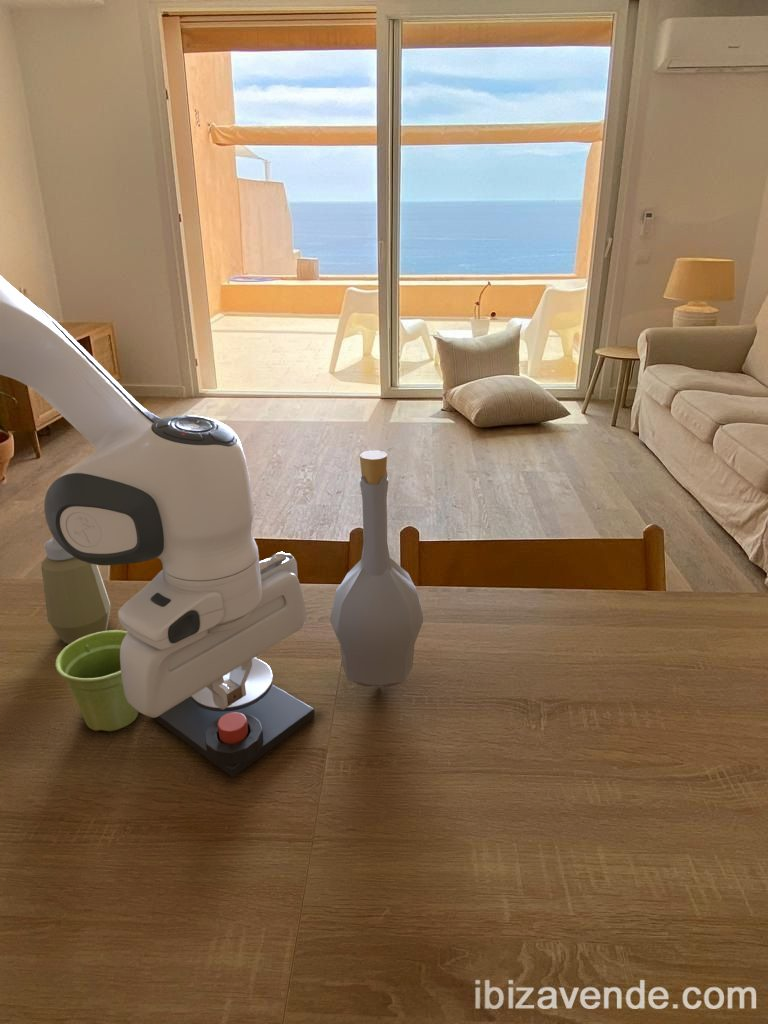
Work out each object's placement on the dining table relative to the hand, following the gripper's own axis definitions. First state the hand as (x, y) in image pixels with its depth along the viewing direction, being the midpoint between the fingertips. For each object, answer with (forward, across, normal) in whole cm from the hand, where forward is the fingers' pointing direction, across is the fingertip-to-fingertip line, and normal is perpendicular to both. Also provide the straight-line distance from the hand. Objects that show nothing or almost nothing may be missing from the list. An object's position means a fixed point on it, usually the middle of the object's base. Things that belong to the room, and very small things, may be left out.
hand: (230, 700), depth 72 cm
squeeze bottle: (+7, -1, -35) cm, 35 cm away
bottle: (+7, -18, +4) cm, 20 cm away
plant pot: (+7, +5, -16) cm, 18 cm away
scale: (+7, -3, -5) cm, 9 cm away
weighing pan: (+4, -5, -7) cm, 9 cm away
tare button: (+5, 0, 0) cm, 5 cm away
